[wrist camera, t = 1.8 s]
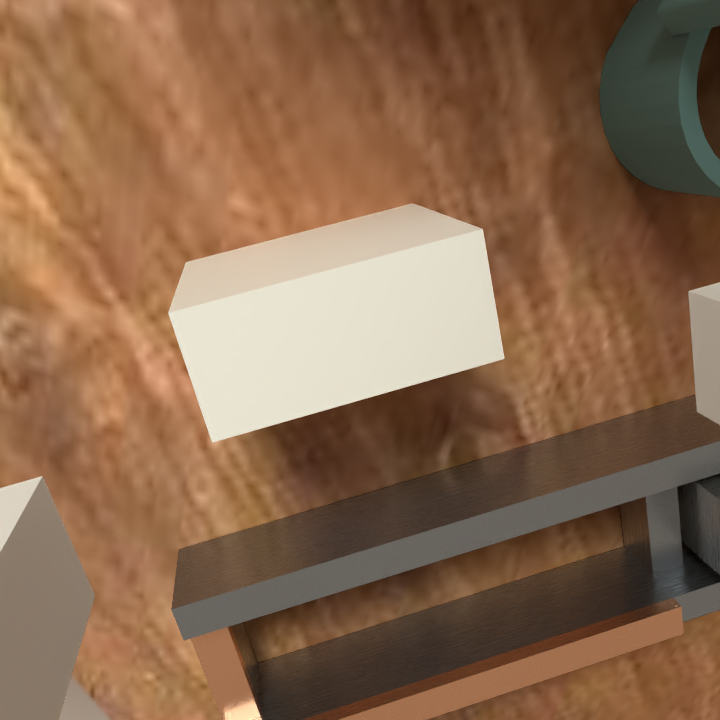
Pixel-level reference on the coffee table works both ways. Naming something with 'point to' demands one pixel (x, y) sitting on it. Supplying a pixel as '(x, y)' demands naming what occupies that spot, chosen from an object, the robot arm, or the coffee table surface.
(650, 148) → the teal cylindrical holder
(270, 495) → the coffee table surface
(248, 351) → the block
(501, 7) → the coffee table surface
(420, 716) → the rack
